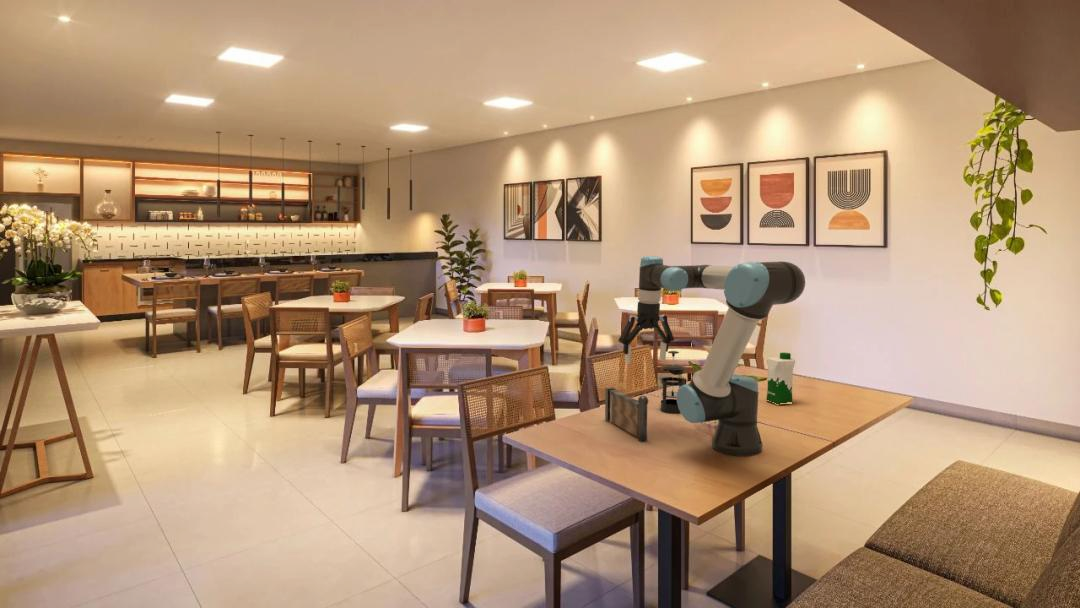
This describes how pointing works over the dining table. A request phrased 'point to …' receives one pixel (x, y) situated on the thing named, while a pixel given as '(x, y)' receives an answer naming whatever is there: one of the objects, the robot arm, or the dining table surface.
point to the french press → (671, 404)
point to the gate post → (642, 419)
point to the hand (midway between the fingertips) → (645, 361)
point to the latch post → (607, 403)
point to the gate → (624, 411)
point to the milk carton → (780, 378)
